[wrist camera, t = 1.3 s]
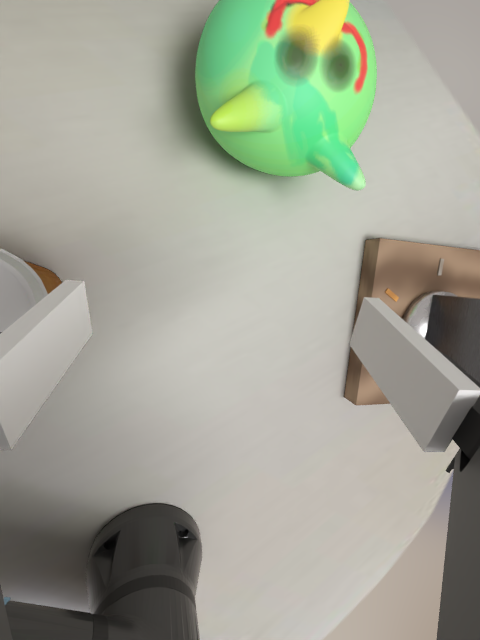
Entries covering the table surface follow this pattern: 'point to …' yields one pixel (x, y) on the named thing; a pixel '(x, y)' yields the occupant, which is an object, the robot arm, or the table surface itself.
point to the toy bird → (287, 85)
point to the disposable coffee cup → (21, 287)
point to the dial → (449, 326)
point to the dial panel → (406, 291)
